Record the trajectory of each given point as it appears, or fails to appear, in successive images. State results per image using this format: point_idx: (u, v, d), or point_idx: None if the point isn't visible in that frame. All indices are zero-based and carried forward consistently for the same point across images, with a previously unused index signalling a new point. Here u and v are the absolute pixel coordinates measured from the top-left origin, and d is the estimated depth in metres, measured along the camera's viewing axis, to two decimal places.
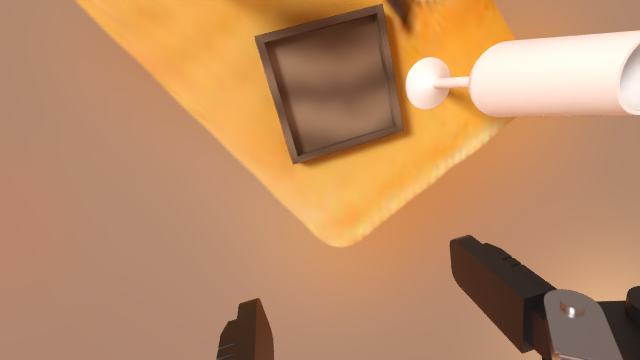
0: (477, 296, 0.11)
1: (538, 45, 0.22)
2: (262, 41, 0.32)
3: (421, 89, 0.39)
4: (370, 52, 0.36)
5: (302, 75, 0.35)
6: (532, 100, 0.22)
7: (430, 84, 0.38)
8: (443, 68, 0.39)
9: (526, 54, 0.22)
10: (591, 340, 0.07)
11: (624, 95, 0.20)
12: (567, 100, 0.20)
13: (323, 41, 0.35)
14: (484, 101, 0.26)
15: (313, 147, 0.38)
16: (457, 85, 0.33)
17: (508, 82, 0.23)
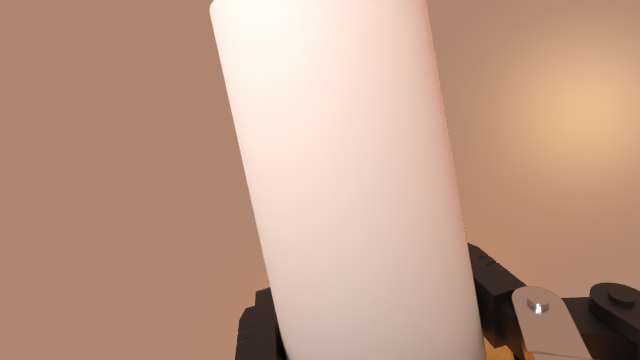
0: None
1: (272, 270, 0.08)
2: None
3: None
4: None
5: None
6: (429, 229, 0.06)
7: None
8: None
9: (291, 294, 0.07)
10: (558, 335, 0.07)
11: None
12: (412, 113, 0.06)
13: None
14: None
15: None
16: None
17: (384, 325, 0.07)
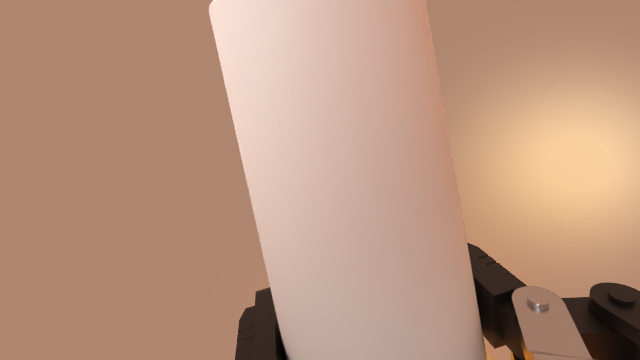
0: None
1: (272, 270, 0.08)
2: None
3: None
4: None
5: None
6: (429, 229, 0.06)
7: None
8: None
9: (291, 294, 0.07)
10: (558, 335, 0.07)
11: None
12: (412, 113, 0.06)
13: None
14: None
15: None
16: None
17: (384, 325, 0.07)
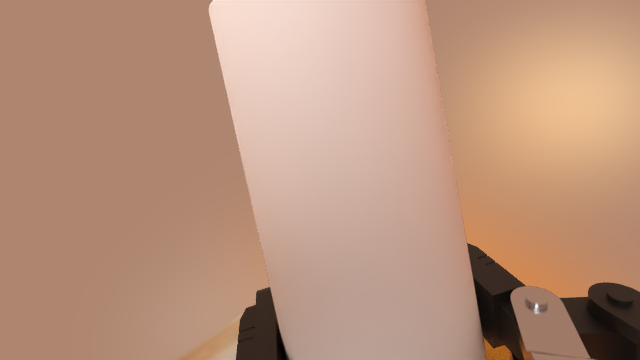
0: None
1: (271, 270, 0.08)
2: None
3: None
4: None
5: None
6: (429, 229, 0.06)
7: None
8: None
9: (291, 294, 0.07)
10: (557, 335, 0.07)
11: None
12: (411, 113, 0.06)
13: None
14: None
15: None
16: None
17: (383, 325, 0.07)
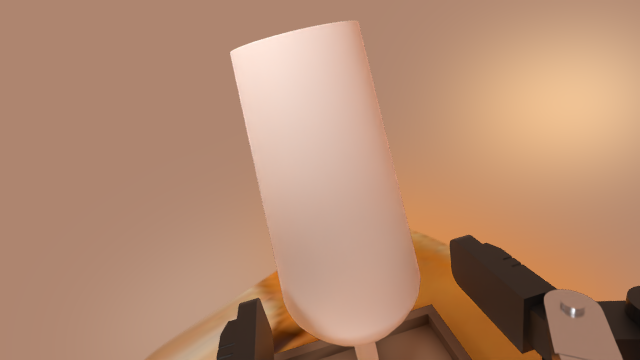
0: (477, 296, 0.11)
1: (270, 219, 0.12)
2: None
3: None
4: None
5: None
6: (366, 187, 0.10)
7: None
8: None
9: (282, 232, 0.11)
10: (591, 341, 0.07)
11: None
12: (351, 116, 0.10)
13: None
14: (392, 295, 0.12)
15: None
16: None
17: (339, 247, 0.11)
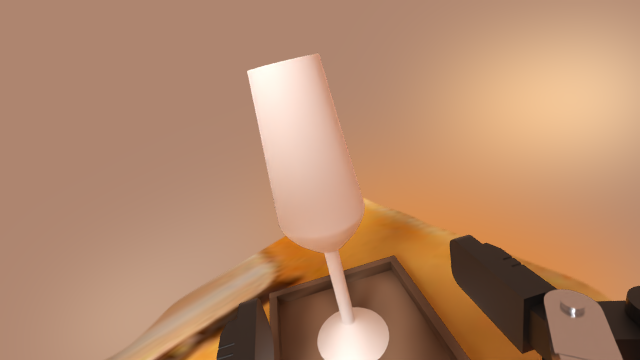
0: (477, 296, 0.11)
1: (270, 167, 0.20)
2: None
3: (358, 340, 0.25)
4: (314, 302, 0.32)
5: None
6: (323, 145, 0.18)
7: (350, 328, 0.26)
8: (331, 319, 0.29)
9: (277, 173, 0.19)
10: (591, 340, 0.07)
11: None
12: (313, 105, 0.18)
13: (296, 351, 0.27)
14: (341, 211, 0.20)
15: (442, 352, 0.24)
16: (341, 279, 0.25)
17: (309, 180, 0.19)
